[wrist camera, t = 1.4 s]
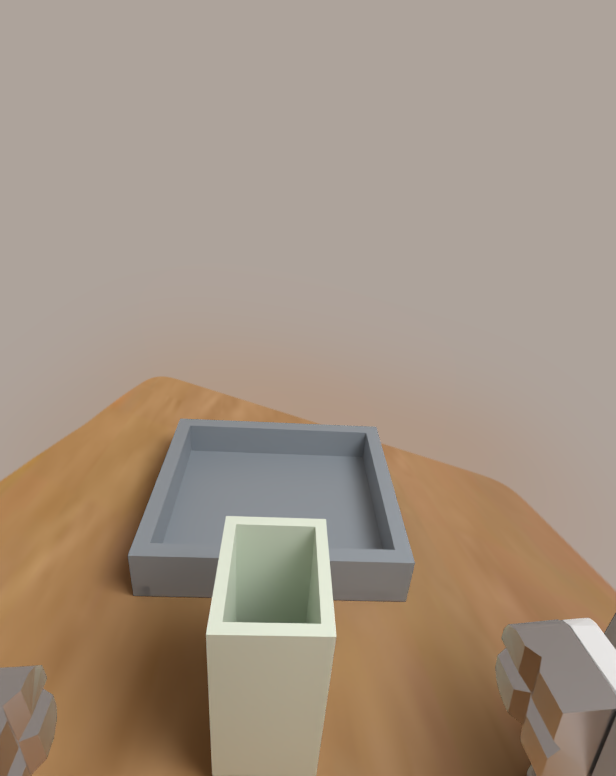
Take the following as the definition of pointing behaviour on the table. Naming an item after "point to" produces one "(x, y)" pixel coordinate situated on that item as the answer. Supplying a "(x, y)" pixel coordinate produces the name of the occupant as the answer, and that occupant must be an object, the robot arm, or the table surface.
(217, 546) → the grey tray
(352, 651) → the table surface
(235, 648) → the small tall open container
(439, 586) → the table surface
